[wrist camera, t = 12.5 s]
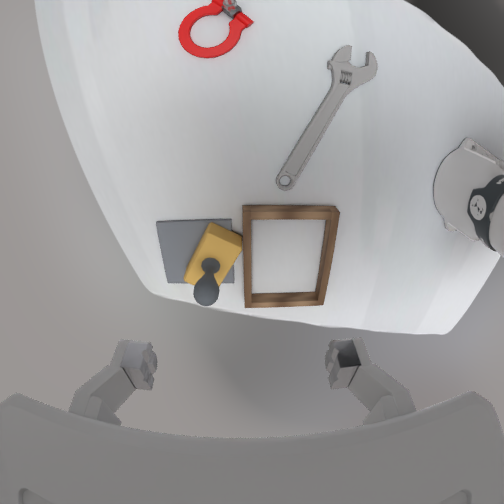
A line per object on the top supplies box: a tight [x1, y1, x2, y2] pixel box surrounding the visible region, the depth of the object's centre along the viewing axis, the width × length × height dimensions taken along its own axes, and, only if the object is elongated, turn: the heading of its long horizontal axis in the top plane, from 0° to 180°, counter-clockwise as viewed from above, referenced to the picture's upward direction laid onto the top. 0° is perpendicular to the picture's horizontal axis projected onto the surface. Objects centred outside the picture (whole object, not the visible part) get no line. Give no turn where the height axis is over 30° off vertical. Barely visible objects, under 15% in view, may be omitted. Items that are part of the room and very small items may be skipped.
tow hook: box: [178, 0, 254, 58], centre depth 22 cm, size 8×13×9 cm
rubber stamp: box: [183, 222, 242, 306], centre depth 40 cm, size 10×6×12 cm, turn 151°
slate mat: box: [156, 219, 234, 283], centre depth 45 cm, size 12×12×1 cm
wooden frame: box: [243, 205, 340, 308], centre depth 45 cm, size 14×18×2 cm
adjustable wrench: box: [276, 45, 377, 191], centre depth 33 cm, size 25×6×2 cm, turn 148°
